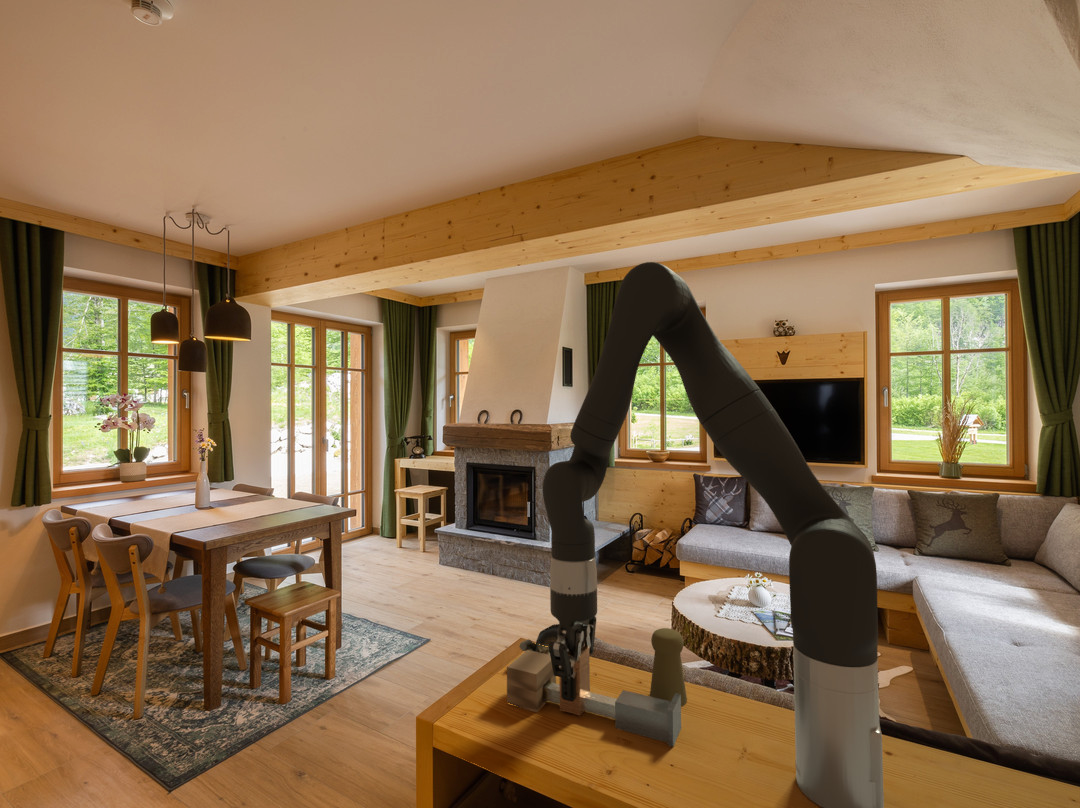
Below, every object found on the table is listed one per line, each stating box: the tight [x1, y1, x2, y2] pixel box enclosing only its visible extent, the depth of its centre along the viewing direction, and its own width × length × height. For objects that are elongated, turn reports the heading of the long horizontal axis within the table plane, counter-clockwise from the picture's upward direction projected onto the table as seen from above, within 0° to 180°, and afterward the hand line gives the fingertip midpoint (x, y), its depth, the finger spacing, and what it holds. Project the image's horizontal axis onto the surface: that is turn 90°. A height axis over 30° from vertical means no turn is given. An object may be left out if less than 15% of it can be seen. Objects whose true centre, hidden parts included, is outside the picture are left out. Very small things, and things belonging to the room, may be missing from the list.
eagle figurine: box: [519, 623, 559, 655], centre depth 101 cm, size 8×7×9 cm
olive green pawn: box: [649, 627, 688, 708], centre depth 87 cm, size 6×6×11 cm
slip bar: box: [542, 646, 617, 720], centre depth 83 cm, size 18×4×9 cm, turn 62°
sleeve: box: [614, 689, 682, 748], centre depth 78 cm, size 9×5×5 cm, turn 62°
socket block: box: [506, 650, 557, 713], centre depth 88 cm, size 6×7×6 cm
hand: (574, 691), depth 84 cm, fingers closed on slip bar, 4 cm apart
